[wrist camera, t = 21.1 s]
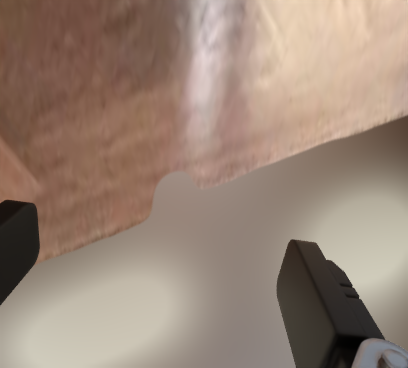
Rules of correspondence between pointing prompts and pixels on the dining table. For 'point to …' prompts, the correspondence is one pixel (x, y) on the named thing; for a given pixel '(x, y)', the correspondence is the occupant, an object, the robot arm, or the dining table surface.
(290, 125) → the dining table surface
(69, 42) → the dining table surface
